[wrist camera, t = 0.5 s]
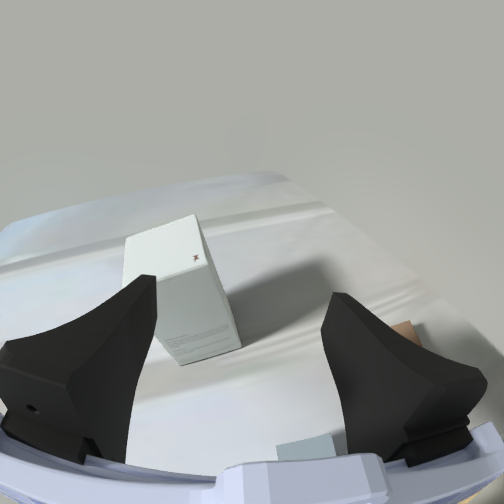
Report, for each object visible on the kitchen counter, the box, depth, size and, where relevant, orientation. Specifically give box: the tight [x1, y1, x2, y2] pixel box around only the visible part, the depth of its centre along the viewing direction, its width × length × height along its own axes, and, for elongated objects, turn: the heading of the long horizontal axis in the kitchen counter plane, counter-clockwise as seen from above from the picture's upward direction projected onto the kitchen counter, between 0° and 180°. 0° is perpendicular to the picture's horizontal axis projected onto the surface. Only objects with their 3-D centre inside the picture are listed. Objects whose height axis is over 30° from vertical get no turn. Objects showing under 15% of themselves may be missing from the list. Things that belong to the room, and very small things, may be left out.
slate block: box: [276, 433, 336, 461], centre depth 19 cm, size 4×4×5 cm
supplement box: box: [122, 214, 242, 366], centre depth 29 cm, size 7×7×13 cm
